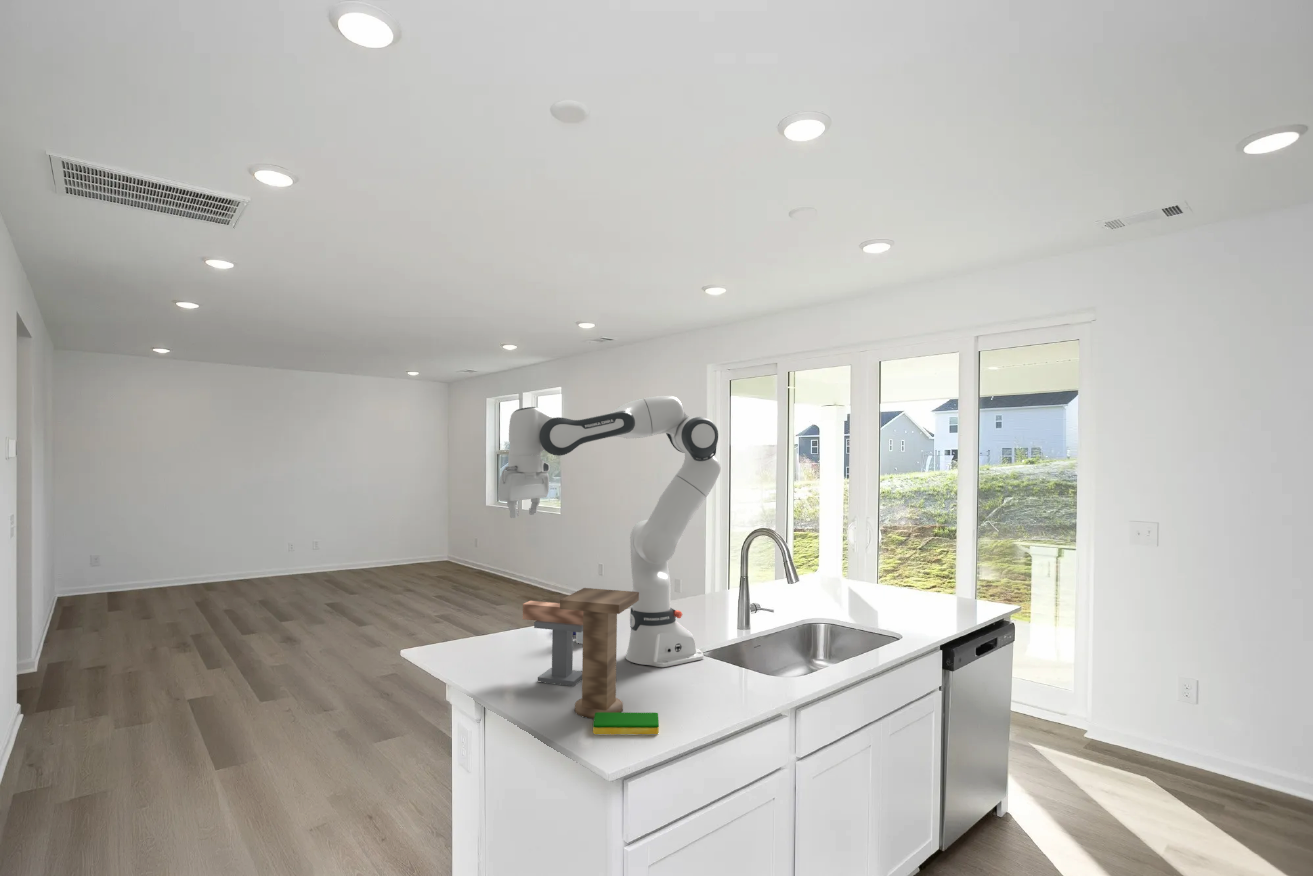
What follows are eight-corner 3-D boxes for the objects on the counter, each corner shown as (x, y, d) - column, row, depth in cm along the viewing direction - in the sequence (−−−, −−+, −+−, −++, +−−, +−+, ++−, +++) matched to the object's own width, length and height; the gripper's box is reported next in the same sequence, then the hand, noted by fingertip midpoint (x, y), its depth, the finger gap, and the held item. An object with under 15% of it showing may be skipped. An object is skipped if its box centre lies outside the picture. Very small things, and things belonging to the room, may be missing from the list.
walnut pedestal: (637, 702, 159) (638, 592, 160) (617, 725, 146) (619, 604, 146) (582, 695, 163) (584, 587, 164) (558, 717, 150) (559, 599, 150)
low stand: (591, 676, 177) (592, 619, 177) (579, 687, 169) (580, 627, 169) (546, 671, 180) (546, 615, 181) (532, 681, 173) (533, 622, 173)
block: (595, 621, 174) (596, 606, 175) (590, 625, 171) (590, 609, 171) (529, 615, 180) (529, 600, 180) (522, 619, 176) (522, 604, 176)
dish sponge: (595, 722, 148) (595, 711, 148) (657, 723, 149) (657, 712, 149) (592, 736, 141) (592, 724, 141) (658, 736, 141) (658, 725, 141)
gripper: (513, 466, 175) (512, 520, 174) (553, 465, 194) (552, 513, 193) (492, 466, 177) (491, 518, 177) (534, 464, 196) (533, 512, 196)
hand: (523, 516), depth 185 cm, fingers open, 8 cm apart
